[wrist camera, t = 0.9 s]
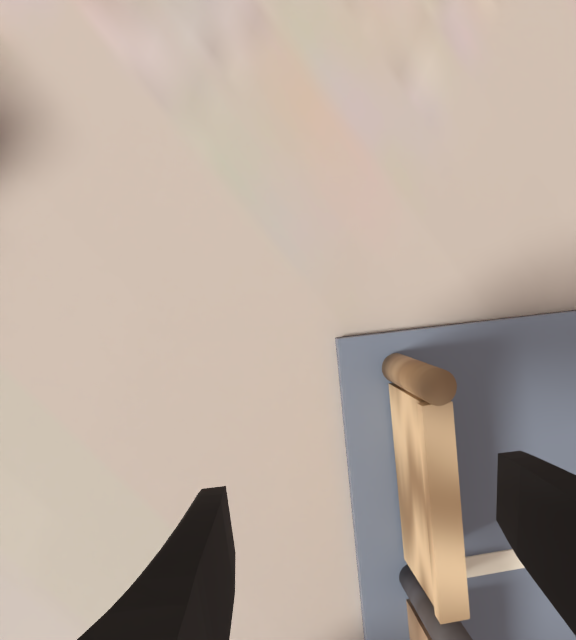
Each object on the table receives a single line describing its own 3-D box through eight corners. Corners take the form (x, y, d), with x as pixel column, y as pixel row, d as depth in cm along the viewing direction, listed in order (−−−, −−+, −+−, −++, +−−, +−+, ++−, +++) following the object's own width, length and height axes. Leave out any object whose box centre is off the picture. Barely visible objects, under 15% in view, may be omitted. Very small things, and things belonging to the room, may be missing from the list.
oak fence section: (426, 555, 25) (475, 623, 20) (398, 559, 25) (441, 629, 20) (408, 351, 24) (455, 366, 19) (380, 355, 24) (419, 371, 19)
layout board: (624, 747, 28) (634, 758, 28) (380, 802, 27) (384, 816, 26) (599, 307, 27) (608, 307, 26) (335, 337, 25) (338, 339, 24)
